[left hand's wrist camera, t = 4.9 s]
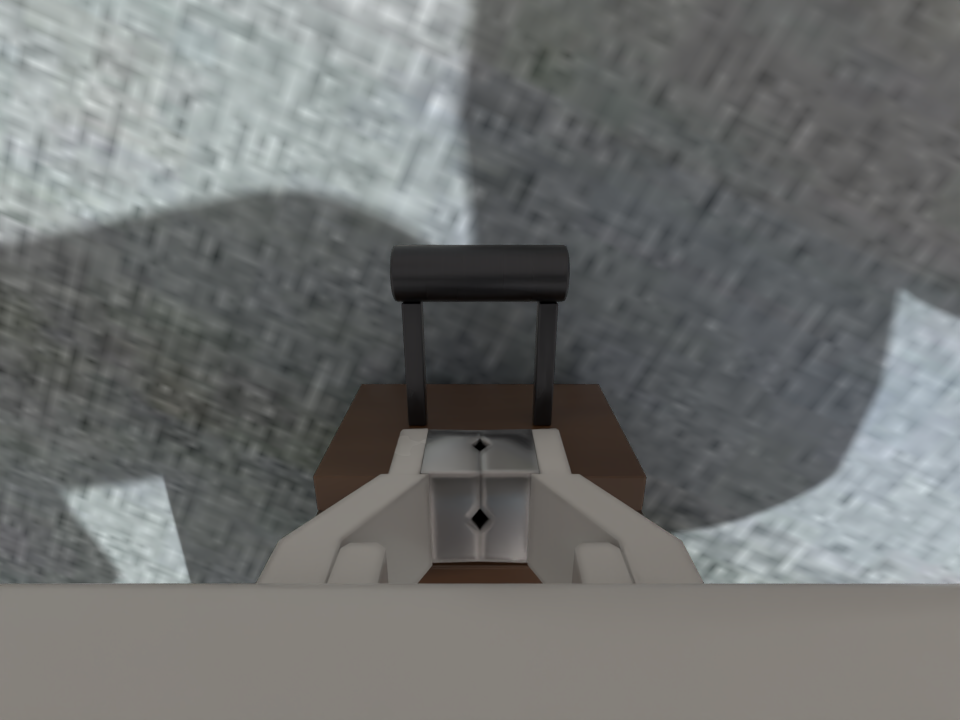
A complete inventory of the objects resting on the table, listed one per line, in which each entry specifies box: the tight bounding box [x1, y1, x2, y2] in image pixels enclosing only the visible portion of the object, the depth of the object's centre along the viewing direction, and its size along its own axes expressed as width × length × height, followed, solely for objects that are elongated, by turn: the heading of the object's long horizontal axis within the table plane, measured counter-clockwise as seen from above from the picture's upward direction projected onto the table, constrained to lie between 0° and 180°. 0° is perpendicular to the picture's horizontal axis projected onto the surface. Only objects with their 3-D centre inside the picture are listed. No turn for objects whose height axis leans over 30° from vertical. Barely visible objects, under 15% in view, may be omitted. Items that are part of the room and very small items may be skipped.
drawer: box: [313, 245, 646, 511], centre depth 20 cm, size 24×10×6 cm, turn 0°
